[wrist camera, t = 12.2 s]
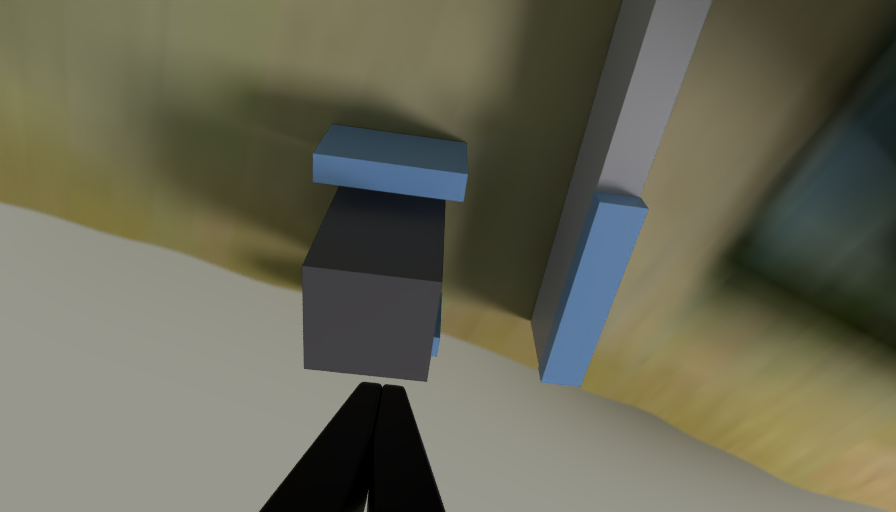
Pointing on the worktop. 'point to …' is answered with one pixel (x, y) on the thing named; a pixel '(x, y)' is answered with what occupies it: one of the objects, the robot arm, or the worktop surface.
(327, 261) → the dark grey rectangular block
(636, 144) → the grey and blue blocks
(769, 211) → the worktop surface
